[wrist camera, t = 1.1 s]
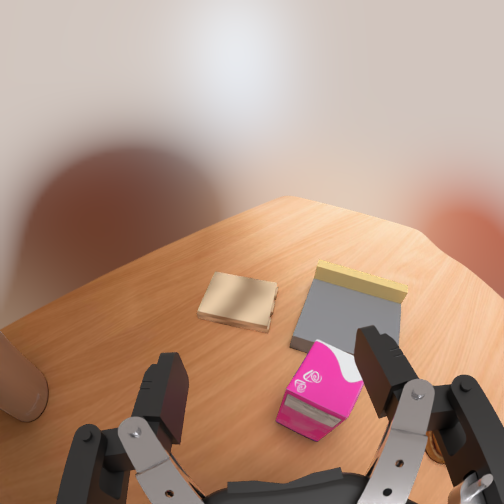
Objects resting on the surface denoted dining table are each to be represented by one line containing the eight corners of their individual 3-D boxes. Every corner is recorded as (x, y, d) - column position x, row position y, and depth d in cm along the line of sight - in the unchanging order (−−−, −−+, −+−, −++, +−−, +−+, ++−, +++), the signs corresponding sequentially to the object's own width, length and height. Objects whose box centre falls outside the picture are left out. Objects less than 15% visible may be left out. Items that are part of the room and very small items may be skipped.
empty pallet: (197, 319, 38) (196, 310, 36) (214, 280, 43) (213, 271, 42) (267, 334, 36) (268, 326, 35) (277, 291, 42) (278, 283, 41)
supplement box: (297, 383, 30) (317, 335, 23) (339, 403, 28) (376, 362, 20) (272, 421, 27) (285, 388, 19) (317, 443, 24) (351, 420, 17)
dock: (289, 347, 34) (295, 324, 31) (312, 285, 43) (319, 259, 39) (386, 375, 30) (405, 355, 27) (393, 308, 39) (407, 285, 35)
